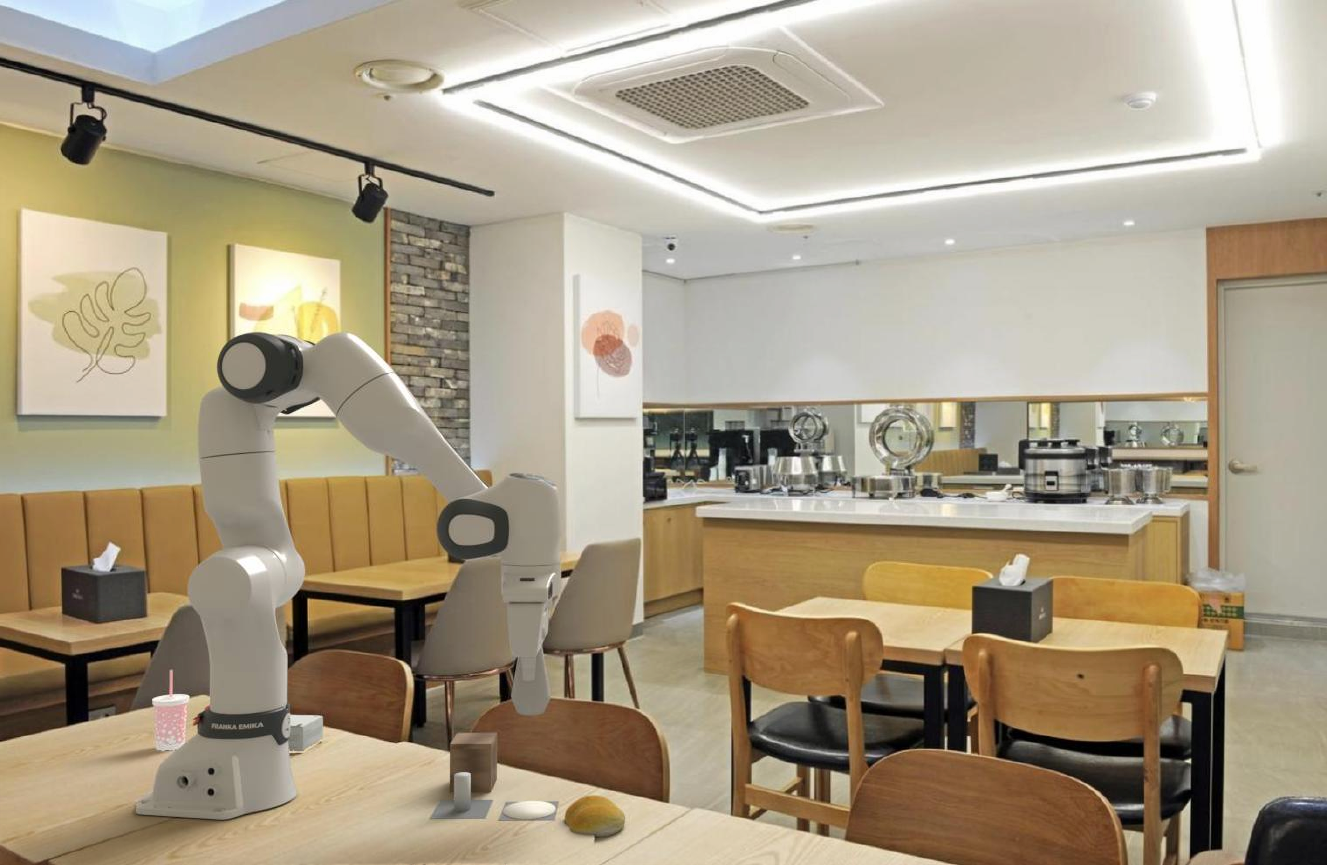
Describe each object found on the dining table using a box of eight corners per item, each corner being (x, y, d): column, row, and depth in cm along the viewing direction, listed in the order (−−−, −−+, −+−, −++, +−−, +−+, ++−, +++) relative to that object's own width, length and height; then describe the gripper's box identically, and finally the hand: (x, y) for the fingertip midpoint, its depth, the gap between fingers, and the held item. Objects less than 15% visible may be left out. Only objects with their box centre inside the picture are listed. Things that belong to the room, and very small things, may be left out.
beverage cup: (178, 752, 181) (179, 673, 182) (144, 752, 181) (145, 673, 182) (195, 742, 187) (195, 666, 188) (162, 742, 187) (163, 666, 188)
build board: (498, 824, 145) (498, 819, 145) (505, 805, 153) (505, 800, 153) (554, 823, 145) (554, 818, 145) (558, 805, 153) (558, 799, 153)
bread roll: (577, 842, 139) (577, 813, 139) (559, 821, 147) (559, 793, 147) (634, 834, 142) (634, 805, 142) (614, 814, 150) (614, 786, 150)
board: (429, 822, 146) (429, 783, 146) (440, 803, 154) (440, 766, 154) (485, 822, 146) (485, 782, 146) (493, 803, 154) (493, 766, 154)
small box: (284, 741, 189) (284, 713, 189) (323, 742, 188) (324, 715, 188) (261, 753, 181) (261, 724, 182) (302, 755, 180) (303, 725, 180)
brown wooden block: (449, 795, 157) (450, 743, 158) (457, 782, 164) (457, 732, 164) (491, 795, 158) (491, 743, 158) (496, 782, 164) (497, 732, 164)
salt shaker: (543, 717, 147) (543, 627, 147) (505, 715, 148) (506, 626, 148) (555, 707, 153) (555, 621, 153) (519, 706, 154) (519, 619, 154)
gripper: (517, 574, 161) (517, 662, 161) (501, 591, 141) (500, 691, 140) (557, 574, 161) (557, 662, 161) (547, 591, 141) (546, 691, 140)
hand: (530, 676), depth 150 cm, fingers closed on salt shaker, 3 cm apart
